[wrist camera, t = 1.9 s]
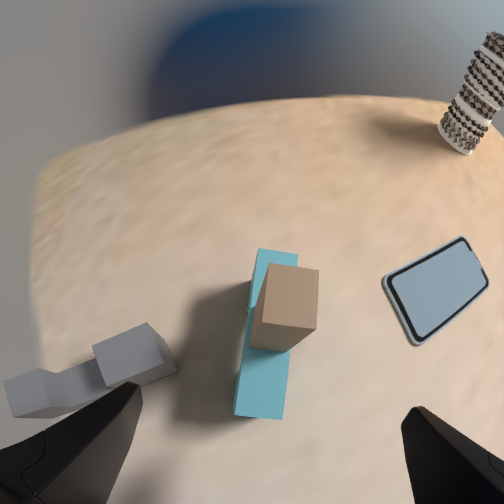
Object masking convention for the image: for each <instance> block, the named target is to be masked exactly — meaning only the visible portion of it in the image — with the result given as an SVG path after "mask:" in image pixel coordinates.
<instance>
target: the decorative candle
mask: <svg viewBox="0 0 504 504" xmlns="http://www.w3.org/2000/svg"><path fill="white" fill-rule="evenodd" d="M487 34H488V35H487V37H486V39H485V41H484V43H483V46H482V45H481V47H480V49H479V51H480V52H479V51H474V54H475V56H476V57H477V60H474V59H472V60H471V63H472V66H469V67H468V71H469V73H470V74H466V75H465V76H464V78H465V79H463V82H464V85H463V87H462V89H461V90H460V92H459V93H458V94H457V95H456V98H455V99H453V100H452V101H451V102H452V105H453V106H452V105H450V106H449V107H448V109H449V112H445V113H444V118H442V119H441V121H440V122H441V124H439V125H438V131H439V133H440V134H441V135H442V137H443V138H444V139H445V140H446V141H447V142H448V143H449V144H450V145H451V146H452V147H454V148H455V149H456V150H458V151H459V152H461V153H463V154H465V155H470V154H471V153H472V150H474V149H475V148H476V144H479V142H480V139H479V137H483V136H484V133H483V131H485V132H486V131H487V130H488V127H487V126H488V125H489V124H490V122H491V119H492V117H493V115H494V114H495V112H496V110H498V111H499V110H500V109H501V108H500V106H502V107H503V106H504V104H503V102H502V100H504V36H503V35H502V34H500V33H498V32H496V31H493V32H491V33H487Z"/></svg>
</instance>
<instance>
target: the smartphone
mask: <svg viewBox="0 0 504 504" xmlns="http://www.w3.org/2000/svg"><path fill="white" fill-rule="evenodd" d="M383 285H384V288H385V290H386V292H387V294H388V295H389V298H390V299H391V301H392V303H393V305H394V307H395V309H396V311H397V313H398V315H399V317H400V319H401V321H402V324H403V325H404V327H405V329H406V331H407V333H408V335H409V338H410V340H411V342H412V343H413V344H415V345H421V344H424V343H425V342H426V341H428V340H429V339H430V338H432V337H433V336H434V335H436V334H437V333H438V332H439V331H441V330H442V329H443V328H444V327H446V326H447V325H448V324H449V323H450V322H452V321H453V320H454V319H455V318H456V317H458V316H459V315H460V314H461V313H462V312H463V311H464V310H466V309H467V308H468V307H469V306H470V305H471V304H472V303H473V302H475V301H476V300H477V299H478V298H479V297H480V296H481V295H482V294H483V293H484V292H485V291H486V290H487V289H488V288H489V279H488V277H487V275H486V273H485V271H484V269H483V267H482V265H481V263H480V262H479V260H478V258H477V256H476V254H475V253H474V251H473V249H472V247H471V246H470V244H469V242H468V241H467V239H466V238H465V237H463V236H458V237H456V238H455V239H453V240H451V241H449V242H447V243H445V244H444V245H442V246H440V247H438V248H436V249H435V250H433V251H431V252H429V253H427V254H425V255H424V256H422V257H420V258H418V259H416V260H414V261H412V262H410V263H408V264H406V265H404V266H402V267H400V268H398V269H396V270H394V271H392V272H390V273H388V274H387V275H386V276H385V277H384V280H383Z"/></svg>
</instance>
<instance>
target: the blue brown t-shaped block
mask: <svg viewBox="0 0 504 504" xmlns="http://www.w3.org/2000/svg"><path fill="white" fill-rule="evenodd" d="M297 260H298V254H292V253H286V252H280V251H274V250H267V249H261V248H259V249H258V253H257V257H256V262H255V266H254V271H253V275H252V280H251V286H250V293H249V300H248V307H247V314H248V316H247V323H246V330H245V337H244V344H243V351H242V357H241V364H240V370H239V371H238V374H237V381H236V388H235V395H234V401H233V408H232V410H233V412H234V415H239V416H247V417H256V418H266V419H277V420H282V417H283V410H284V402H285V394H286V385H287V377H288V368H289V358H290V349H291V348H292V347H294V346H295V345H296V344H298V343H299V342H300V341H301V340H303V339H304V338H305V337H307V336H308V335H309V334H311V333H312V332H313V331H314V330H316V324H317V305H318V279H319V270H313V269H307V268H301V267H297Z"/></svg>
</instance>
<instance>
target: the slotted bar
mask: <svg viewBox="0 0 504 504" xmlns="http://www.w3.org/2000/svg"><path fill="white" fill-rule="evenodd" d="M92 348H93V351H94V354H95V357H96V358H95V359H92V360H90V361H87V362H85V363H82V364H80V365H77V366H75V367H72V368H70V369H67V370H65V371H62V372H60V373H54V372H50V371H46V370H43V369H39V368H37V369H35V370H32V371H30V372H27V373H25V374H22V375H20V376H17V377H14V378H12V379H9V380H7V381H4V386H5V390H6V394H7V397H8V401H9V404H10V408H11V411H12V414H13V417H16V418H54V417H57V416H60V415H63V414H67V413H70V412H73V411H76V410H79V409H82V408H83V407H85V406H87V405H89V404H90V403H92V402H94V401H95V400H97V399H99V398H100V397H102V396H103V395H105V394H107V393H108V392H110V391H112V390H113V389H115V388H117V387H118V386H120V385H121V384H123V383H125V382H126V381H131V382H134V383H138V384H140V386H144V385H146V384H148V383H151V382H153V381H156V380H158V379H160V378H163V377H165V376H167V375H170V374H172V373H174V372H177V371H179V370H178V368H177V366H176V364H175V362H174V360H173V358H172V356H171V354H170V351H169V349H168V347H167V345H166V343H165V340H164V339H163V338H162V337H161V336H160V335H159V334H158V333H157V332H156V331H155V330H154V329H153V328H152V327H151V326H150V325H149V324H148V323H147V322H146V323H144V324H141V325H139V326H137V327H135V328H132V329H130V330H128V331H125V332H123V333H121V334H118V335H116V336H114V337H111V338H109V339H107V340H104V341H102V342H100V343H97V344H95V345H93V346H92Z"/></svg>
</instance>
